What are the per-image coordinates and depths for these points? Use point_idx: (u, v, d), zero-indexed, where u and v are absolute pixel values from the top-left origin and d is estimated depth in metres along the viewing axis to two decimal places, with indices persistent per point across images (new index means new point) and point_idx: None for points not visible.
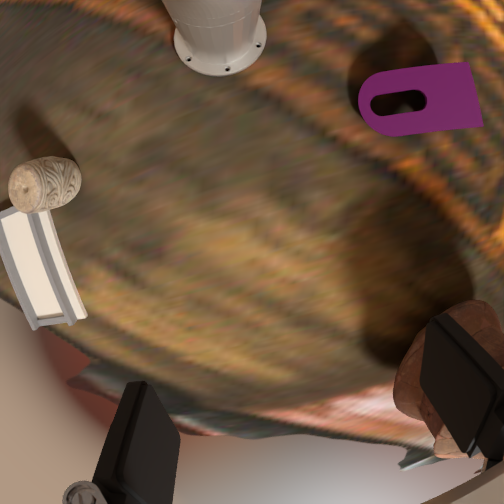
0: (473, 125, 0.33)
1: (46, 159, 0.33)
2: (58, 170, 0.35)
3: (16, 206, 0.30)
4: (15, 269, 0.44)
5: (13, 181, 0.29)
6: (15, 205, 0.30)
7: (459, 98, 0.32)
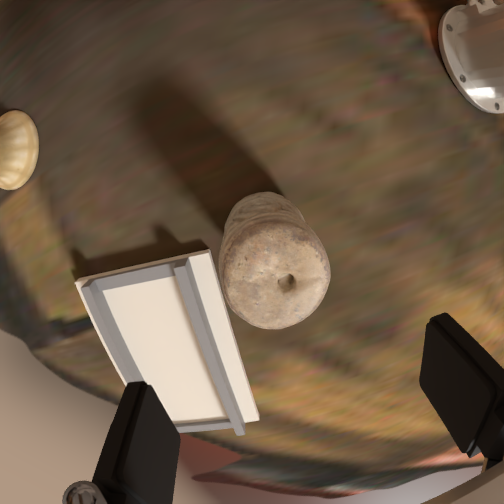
0: None
1: (285, 204, 0.20)
2: None
3: (252, 318, 0.17)
4: (134, 367, 0.30)
5: (251, 264, 0.16)
6: (249, 316, 0.17)
7: None
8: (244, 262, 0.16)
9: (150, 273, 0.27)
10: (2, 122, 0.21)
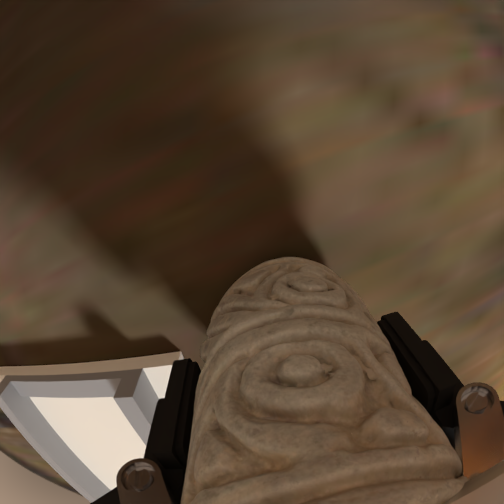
0: None
1: (367, 342, 0.06)
2: None
3: None
4: (92, 479, 0.17)
5: None
6: None
7: None
8: None
9: (83, 388, 0.13)
10: None
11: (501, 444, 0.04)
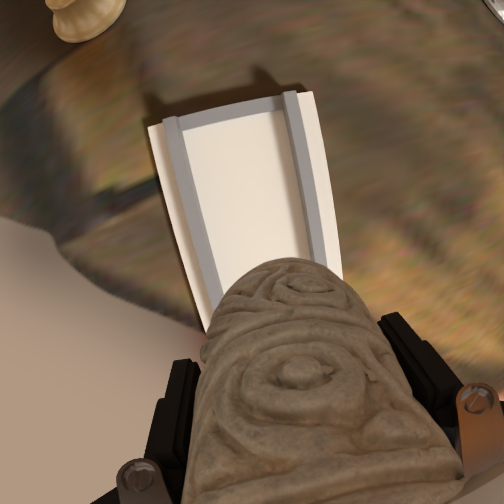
0: None
1: (367, 343, 0.06)
2: None
3: None
4: (207, 238, 0.27)
5: None
6: None
7: None
8: None
9: (249, 106, 0.23)
10: None
11: (501, 444, 0.04)
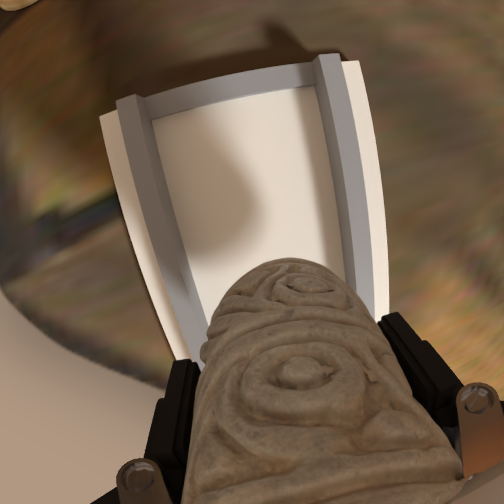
0: None
1: (367, 344, 0.06)
2: None
3: None
4: (194, 290, 0.17)
5: None
6: None
7: None
8: None
9: (261, 78, 0.13)
10: None
11: (501, 444, 0.04)
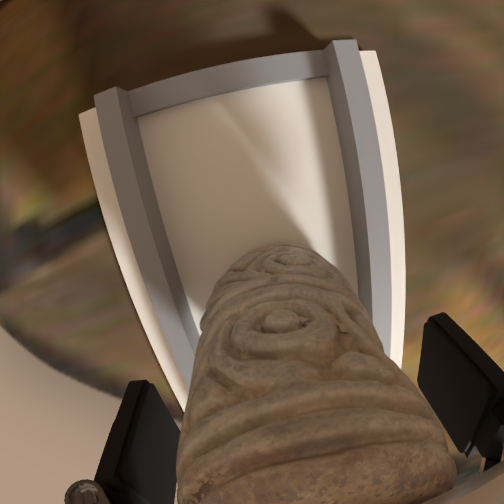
0: None
1: (342, 304, 0.08)
2: None
3: None
4: (188, 312, 0.15)
5: None
6: None
7: None
8: None
9: (265, 68, 0.11)
10: None
11: None
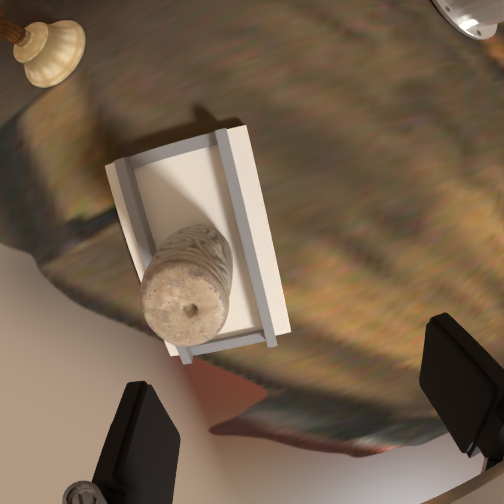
0: None
1: (200, 240, 0.23)
2: (223, 258, 0.24)
3: (167, 337, 0.20)
4: None
5: (159, 295, 0.19)
6: (164, 336, 0.20)
7: None
8: (153, 294, 0.19)
9: (188, 144, 0.27)
10: None
11: None
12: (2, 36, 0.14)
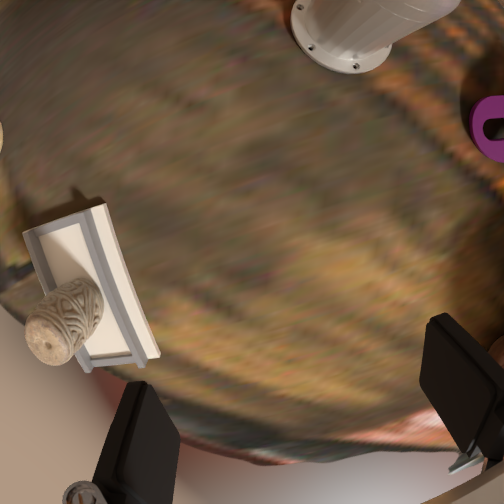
0: None
1: (62, 298, 0.30)
2: (79, 309, 0.31)
3: (40, 359, 0.27)
4: None
5: (31, 335, 0.26)
6: (39, 358, 0.27)
7: None
8: (28, 334, 0.26)
9: (66, 221, 0.34)
10: None
11: None
12: None
